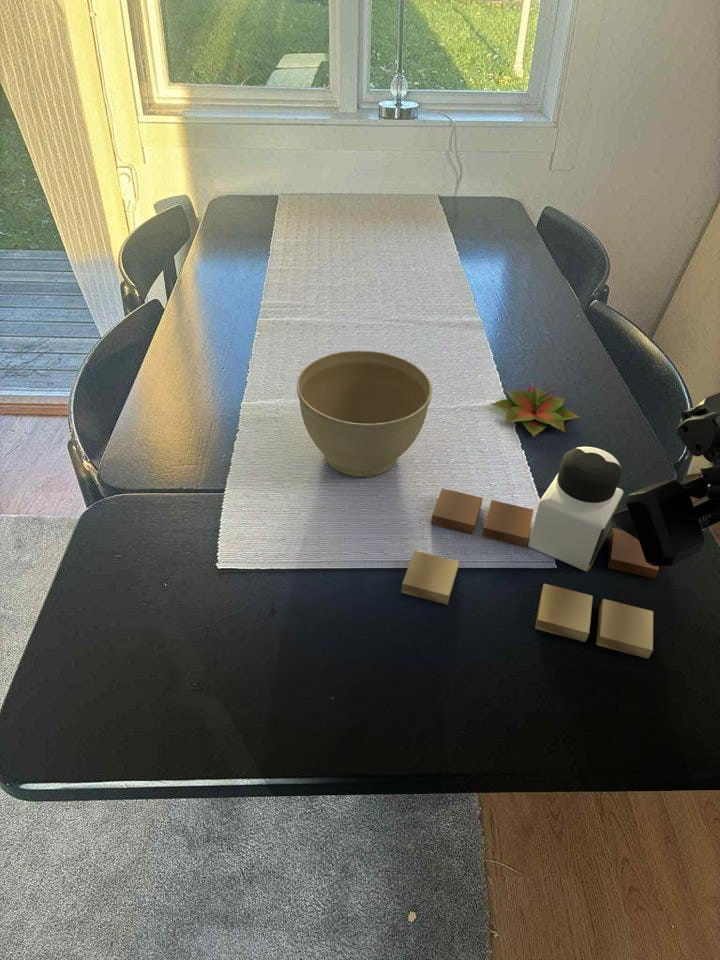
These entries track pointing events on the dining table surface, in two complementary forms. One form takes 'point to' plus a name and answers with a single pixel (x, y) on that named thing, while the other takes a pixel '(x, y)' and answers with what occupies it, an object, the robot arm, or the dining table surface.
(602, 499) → the medicine bottle
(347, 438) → the planter bowl
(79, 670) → the dining table surface
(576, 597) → the set of tan blocks
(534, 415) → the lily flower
